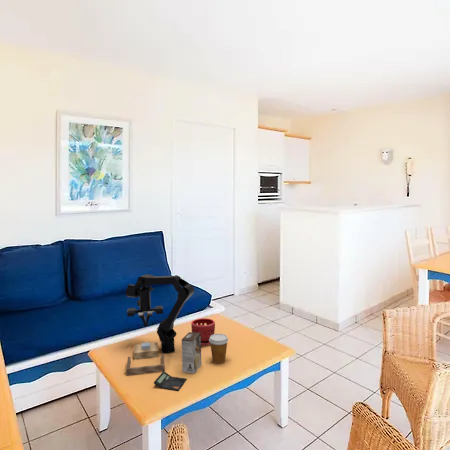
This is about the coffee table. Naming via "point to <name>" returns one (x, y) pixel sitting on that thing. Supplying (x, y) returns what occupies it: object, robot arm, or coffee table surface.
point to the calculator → (169, 382)
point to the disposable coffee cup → (218, 347)
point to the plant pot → (204, 329)
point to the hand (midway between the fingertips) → (145, 326)
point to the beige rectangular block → (146, 351)
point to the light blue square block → (145, 346)
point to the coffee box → (191, 352)
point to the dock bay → (145, 368)
